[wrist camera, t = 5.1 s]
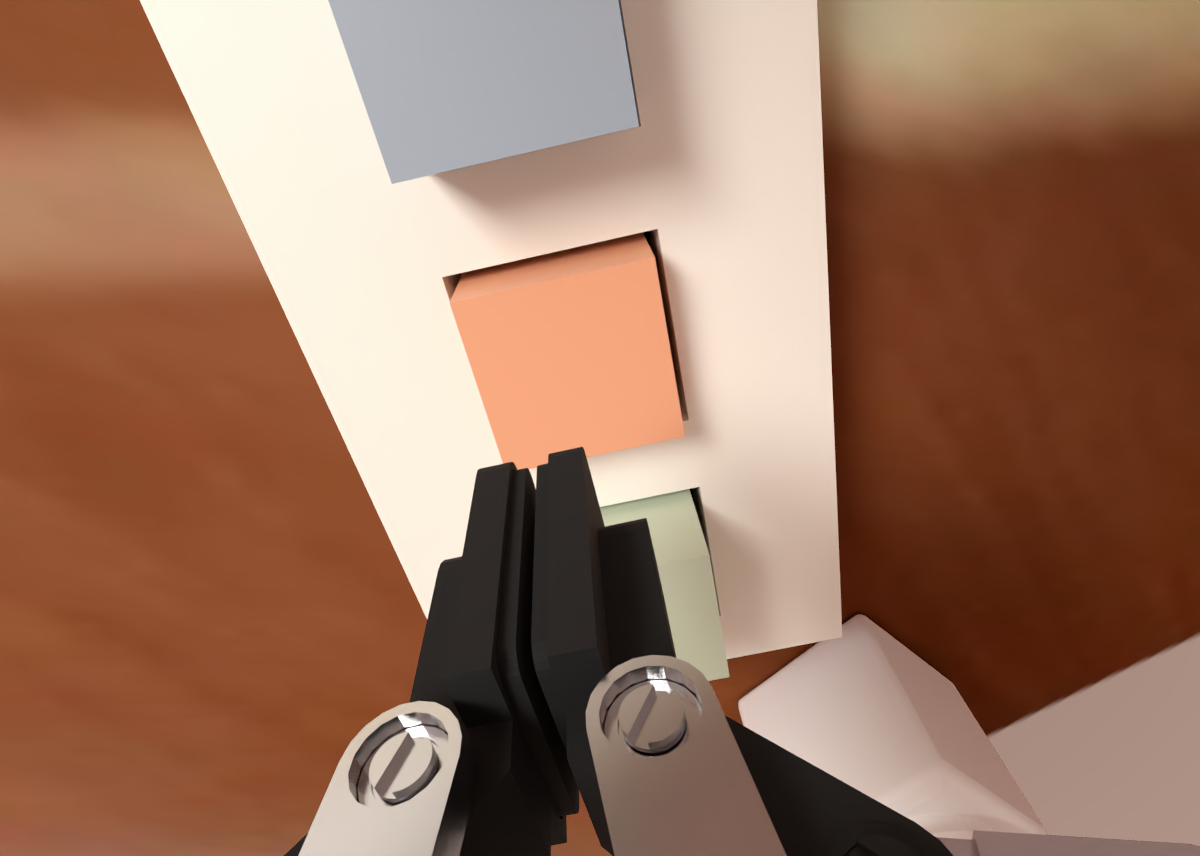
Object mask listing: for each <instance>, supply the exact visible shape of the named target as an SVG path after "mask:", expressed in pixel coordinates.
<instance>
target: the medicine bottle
mask: <svg viewBox="0 0 1200 856" xmlns="http://www.w3.org/2000/svg"><path fill="white" fill-rule="evenodd" d="M738 708H739V712H740V715H741V719H742V722H743V726H745V727H746V728H748V729H750V730H752V731H754V732H755V733H757V734H759V735H761V736H763V737H764V738H766V739H768V740H770V741H771V742H773V743H775V744H777V745H779V746H780V747H782V748H784V749H786V750H787V751H789V752H791V753H793V754H795V755H796V756H798V757H800V758H802V759H803V760H805V761H807V762H809V763H811V764H812V765H814V766H816V767H818V768H819V769H821V770H823V771H825V772H827V773H828V774H830V775H832V776H834V777H835V778H837V779H839V780H841V781H843V782H844V783H846V784H848V785H850V786H852V787H853V788H855V789H857V790H859V791H860V792H862V793H864V794H866V795H868V796H869V797H871V798H873V799H875V800H876V801H878V802H880V803H882V804H884V805H885V806H887V807H889V808H891V809H892V810H894V811H896V812H898V813H900V814H901V815H903V816H905V817H907V818H908V819H910V820H912V821H914V822H916V823H917V824H919V825H920V826H921V827H923V828H924V829H925V830H927V831H928V832H930V833H931V834H932V835H934V836H935V837H941V838H956V839H971V840H972V837H973V830H977V831H993V832H1009V833H1025V834H1041V835H1047V833H1046V830H1045V828H1044V827H1043V825H1042V823H1041V822H1040V820H1039V819H1038V818H1037V816H1036V814H1035V813H1034V811H1033V809H1032V808H1031V806H1030V804H1029V803H1028V801H1027V800H1026V798H1025V797H1024V795H1023V793H1022V792H1021V790H1020V789H1019V787H1018V786H1017V784H1016V782H1015V781H1014V779H1013V778H1012V776H1011V774H1010V773H1009V771H1008V770H1007V768H1006V766H1005V765H1004V763H1003V762H1002V760H1001V759H1000V757H999V755H998V754H997V753H996V751H995V749H994V747H993V746H992V744H991V743H990V741H989V740H988V738H987V736H986V735H985V733H984V732H983V730H982V728H981V727H980V725H979V724H978V722H977V721H976V719H975V717H974V716H973V714H972V713H971V711H970V709H969V708H968V706H967V705H966V703H965V702H964V700H963V698H962V697H961V695H960V694H959V692H958V690H957V689H956V687H955V686H954V684H953V683H952V682H951V681H949V680H948V679H947V678H946V677H944V676H943V675H942V674H940V673H939V672H938V671H936V670H935V669H934V668H933V667H931V666H930V665H929V664H927V663H926V662H925V661H923V660H922V659H921V658H920V657H918V656H917V655H916V654H914V653H913V652H912V651H910V650H909V649H908V648H907V647H905V646H904V645H903V644H901V643H900V642H899V641H897V640H896V639H895V638H893V637H892V636H891V635H890V634H888V633H887V632H886V631H884V630H883V629H882V628H880V627H879V626H878V625H877V624H875V623H874V622H873V621H871V620H870V619H869V618H867V617H866V616H865V615H862V614H858V615H855V616H854V617H852V618H851V619H849V620H848V621H847V622H845V623H844V624H843V625H842V637H841V638H836V639H830V640H825V641H820V642H818V643H816V644H815V645H814V646H812V647H811V648H810V649H808V650H807V651H805V652H804V653H803V654H801V655H800V656H799V657H797V658H796V659H794V660H793V661H792V662H790V663H789V664H788V665H786V666H785V667H783V668H782V669H781V670H779V671H778V672H777V673H775V674H774V675H772V676H771V677H770V678H768V679H767V680H766V681H764V682H763V683H761V684H760V685H759V686H757V687H756V688H755V689H753V690H752V691H750V692H749V693H748V694H746V695H745V696H744V697H742V698H741V699H740V700H739V704H738Z"/></svg>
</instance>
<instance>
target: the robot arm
mask: <svg viewBox="0 0 1200 856" xmlns="http://www.w3.org/2000/svg"><path fill="white" fill-rule="evenodd" d="M579 790H580V793H581V795H582V798H583V800H584V803H585V805H586V808H587V811H588V813H589V816H590V818H591V821H592V823H593V826H594V829H595V831H596V834H597V836H598V839H599V841H600V844H601V846H602V847H603V848H604V849H605V850H607V851H608V852H609V853H610V854H611V855H613V856H1200V846H1196V845H1192V844H1183V843H1167V842H1151V841H1136V840H1119V839H1103V838H1088V837H1072V836H1055V835H1041V834H1025V833H1009V832H993V831H977V830H973V837H972V840H971V839H956V838H941V837H935V836H934V835H932V834H931V833H930V832H928V831H927V830H925V829H924V828H923V827H921V826H920V825H919V824H917V823H916V822H914V821H912V820H910V819H908V818H907V817H905V816H903V815H901V814H900V813H898V812H896V811H894V810H892V809H891V808H889V807H887V806H885V805H884V804H882V803H880V802H878V801H876V800H875V799H873V798H871V797H869V796H868V795H866V794H864V793H862V792H860V791H859V790H857V789H855V788H853V787H852V786H850V785H848V784H846V783H844V782H843V781H841V780H839V779H837V778H835V777H834V776H832V775H830V774H828V773H827V772H825V771H823V770H821V769H819V768H818V767H816V766H814V765H812V764H811V763H809V762H807V761H805V760H803V759H802V758H800V757H798V756H796V755H795V754H793V753H791V752H789V751H787V750H786V749H784V748H782V747H780V746H779V745H777V744H775V743H773V742H771V741H770V740H768V739H766V738H764V737H763V736H761V735H759V734H757V733H755V732H754V731H752V730H750V729H748V728H746V727H745V726H743V725H741V724H739V723H738V722H736V721H734V720H732V719H730V718H729V717H727V716H725V715H724V713H723V711H722V709H721V706H720V704H719V702H718V700H717V697H716V695H715V693H714V691H713V688H712V687H711V685H710V684H709V682H708V681H707V679H706V678H705V676H704V675H703V673H702V672H700V671H699V670H698V669H696V668H695V667H694V666H692V665H691V664H690V663H688V662H686V661H683V660H680V659H677V658H676V653H675V648H674V643H673V638H672V633H671V629H670V624H669V619H668V614H667V609H666V604H665V599H664V595H663V590H662V585H661V580H660V576H659V571H658V566H657V562H656V557H655V553H654V548H653V544H652V539H651V535H650V530H649V526H648V522H647V518H643V519H638V520H634V521H629V522H624V523H619V524H615V525H610V526H605V525H604V521H603V518H602V514H601V510H600V506H599V503H598V499H597V495H596V491H595V488H594V484H593V480H592V476H591V472H590V469H589V465H588V461H587V457H586V454H585V451H584V448H583V447H578V448H574V449H569V450H564V451H560V452H555V453H550V454H549V455H548V463H547V464H542V465H538V466H537V478H536V488H535V485H534V482H533V479H532V476H531V473H530V471H529V469H528V468H524V469H519V470H517V467H516V466H515V464H514V463H513V462H508V463H504V464H499V465H494V466H490V467H485V468H481V469H478V471H477V474H476V479H475V485H474V491H473V497H472V502H471V508H470V514H469V520H468V525H467V531H466V537H465V543H464V549H463V554H462V556H461V557H456V558H452V559H447V560H444V561H443V562H442V563H441V564H440V566H439V569H438V573H437V577H436V582H435V587H434V591H433V596H432V601H431V605H430V610H429V615H428V619H427V624H426V629H425V633H424V638H423V643H422V647H421V652H420V657H419V661H418V666H417V671H416V675H415V680H414V685H413V689H412V694H411V699H410V703H406V704H401V705H399V706H397V707H395V708H393V709H390V710H388V711H386V712H384V713H382V714H381V715H379V716H378V717H377V718H375V719H374V720H373V721H371V722H370V723H369V724H367V725H366V726H365V727H364V728H363V729H362V730H361V731H360V732H359V733H358V735H357V736H356V737H355V738H354V739H353V740H352V741H351V742H350V744H349V746H348V747H347V749H346V751H345V753H344V754H343V756H342V758H341V759H340V761H339V764H338V766H337V768H336V771H335V773H334V775H333V777H332V780H331V782H330V784H329V787H328V789H327V791H326V793H325V796H324V798H323V800H322V803H321V805H320V807H319V810H318V812H317V814H316V816H315V819H314V821H313V823H312V826H311V828H310V830H309V832H308V834H306V835H305V836H304V837H303V838H302V839H301V840H300V841H299V842H298V843H297V844H296V845H295V846H294V847H293V848H292V849H291V850H290V851H289V852H287V853H286V854H285V855H284V856H551V845H556V844H561V843H567V832H566V815H571V814H576V813H578V811H579Z"/></svg>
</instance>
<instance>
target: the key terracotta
mask: <svg viewBox="0 0 1200 856" xmlns="http://www.w3.org/2000/svg"><path fill="white" fill-rule="evenodd" d="M450 306H451V309H452V312H453V315H454V318H455V321H456V324H457V327H458V330H459V333H460V336H461V339H462V342H463V345H464V348H465V351H466V354H467V357H468V360H469V363H470V366H471V369H472V372H473V375H474V378H475V381H476V384H477V387H478V390H479V393H480V396H481V399H482V402H483V405H484V408H485V411H486V414H487V417H488V420H489V423H490V426H491V429H492V432H493V435H494V438H495V441H496V444H497V447H498V450H499V453H500V456H501V459H502V462H503V464H504V463H508V462H513V463H514V464H515V466H516V467H517V470H519V469H524V468H528V469H532V468H537V466H538V465H542V464H547V463H548V455H549V454H550V453H555V452H560V451H564V450H569V449H574V448H578V447H583V448H584V451H585V454H586V457H590V456H594V455H599V454H604V453H609V452H614V451H618V450H623V449H628V448H633V447H638V446H643V445H647V444H652V443H657V442H662V441H667V440H671V439H676V438H681V437H685V433H684V427H683V421H682V415H681V409H680V403H679V397H678V391H677V385H676V379H675V373H674V367H673V362H672V356H671V350H670V344H669V338H668V332H667V326H666V320H665V314H664V308H663V302H662V296H661V290H660V284H659V278H658V273H657V267H656V261H655V256H654V254H653V252H652V250H651V248H650V246H649V244H648V242H647V240H646V238H645V236H644V234H643V232H641V233H637V234H632V235H628V236H623V237H619V238H615V239H610V240H606V241H601V242H597V243H592V244H588V245H583V246H579V247H574V248H570V249H566V250H561V251H557V252H552V253H548V254H543V255H539V256H534V257H530V258H526V259H521V260H517V261H512V262H508V263H503V264H499V265H494V266H490V267H486V268H481V269H477V270H472V271H468V272H463V273H462V276H461V278H460V280H459V282H458V285H457V287H456V289H455V292H454V294H453V296H452V298H451V301H450Z"/></svg>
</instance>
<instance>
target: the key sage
mask: <svg viewBox="0 0 1200 856" xmlns="http://www.w3.org/2000/svg"><path fill="white" fill-rule="evenodd" d="M600 510H601V514H602V518H603V521H604V525H605V526H610V525H615V524H619V523H624V522H629V521H634V520H638V519H643V518H647V522H648V526H649V530H650V535H651V539H652V544H653V548H654V553H655V557H656V562H657V566H658V571H659V576H660V580H661V585H662V590H663V595H664V599H665V604H666V609H667V614H668V619H669V624H670V629H671V633H672V638H673V643H674V648H675V653H676V658H677V659H680V660H683V661H686V662H688V663H690V664H691V665H692V666H694V667H695V668H696V669H698V670H699V671H700V672H702V673H703V675H704V676H705V678H706V679H707V681H710V680H716V679H721V678H726V677H730V676H729V670H728V664H727V658H726V652H725V646H724V640H723V634H722V628H721V622H720V616H719V609H718V603H717V597H716V591H715V585H714V579H713V573H712V567H711V561H710V555H709V552H708V548H707V545H706V542H705V539H704V535H703V532H702V529H701V525H700V522H699V519H698V516H697V512H696V509H695V506H694V503H693V499H692V496H691V493H690V490H689V489H686V490H681V491H676V492H671V493H666V494H661V495H656V496H652V497H647V498H642V499H637V500H632V501H627V502H622V503H617V504H612V505H607V506H603V507H600Z"/></svg>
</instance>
